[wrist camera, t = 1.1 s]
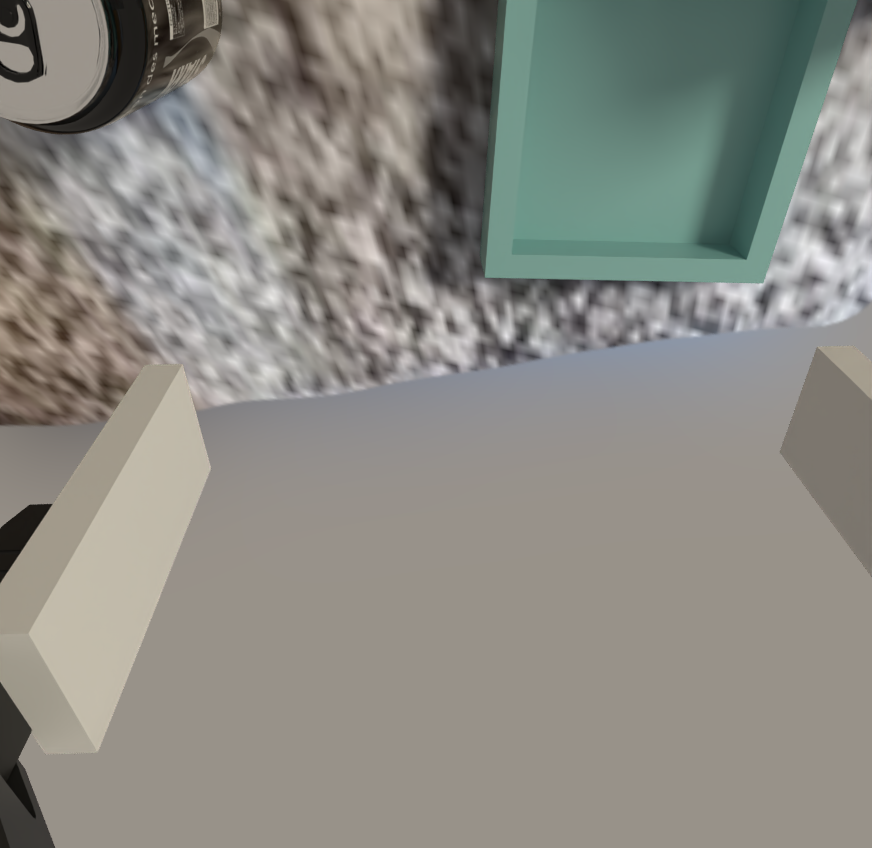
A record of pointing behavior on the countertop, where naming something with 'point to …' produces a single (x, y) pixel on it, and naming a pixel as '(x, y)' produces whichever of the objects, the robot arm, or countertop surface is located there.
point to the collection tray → (651, 134)
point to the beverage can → (98, 57)
